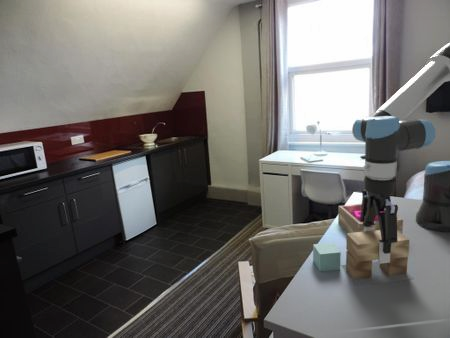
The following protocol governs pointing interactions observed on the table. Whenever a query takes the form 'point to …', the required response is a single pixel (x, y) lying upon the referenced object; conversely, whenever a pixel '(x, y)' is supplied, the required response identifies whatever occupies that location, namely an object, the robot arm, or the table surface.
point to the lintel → (374, 245)
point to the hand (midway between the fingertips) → (376, 254)
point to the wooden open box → (355, 225)
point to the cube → (326, 256)
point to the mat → (378, 276)
